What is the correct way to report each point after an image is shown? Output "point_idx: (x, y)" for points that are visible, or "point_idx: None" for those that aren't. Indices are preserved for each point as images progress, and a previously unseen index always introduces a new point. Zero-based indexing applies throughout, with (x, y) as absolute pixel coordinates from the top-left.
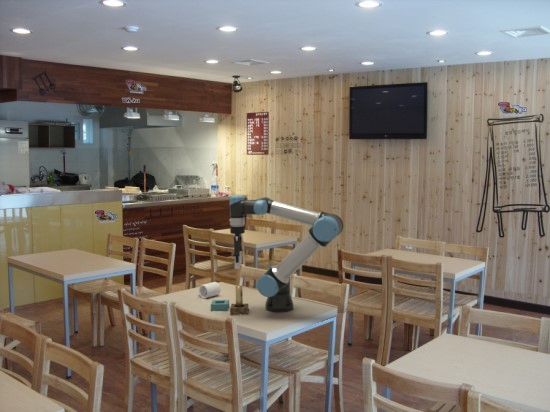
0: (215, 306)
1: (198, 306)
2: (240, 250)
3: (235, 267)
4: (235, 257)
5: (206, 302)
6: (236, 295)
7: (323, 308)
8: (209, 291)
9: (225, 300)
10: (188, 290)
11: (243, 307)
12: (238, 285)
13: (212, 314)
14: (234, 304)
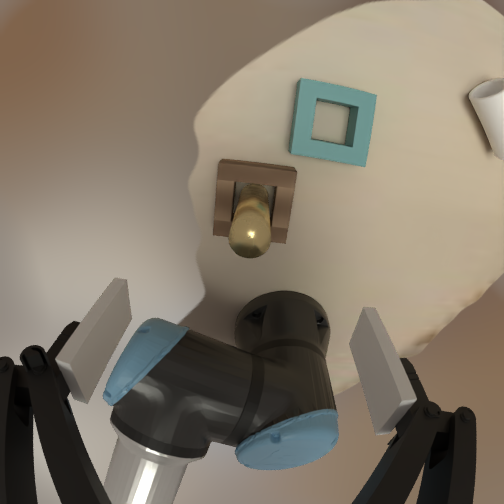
0: (297, 99)
1: (374, 43)
2: (397, 434)
3: (109, 290)
4: (64, 357)
5: (424, 84)
6: (241, 207)
7: None
8: (481, 108)
9: (358, 150)
10: None
11: (224, 219)
12: (270, 237)
13: (242, 87)
14: (280, 184)
